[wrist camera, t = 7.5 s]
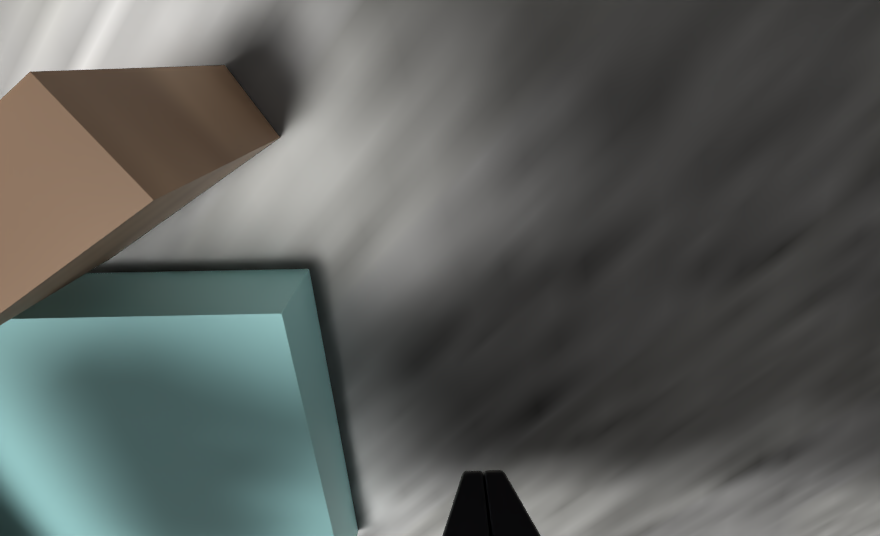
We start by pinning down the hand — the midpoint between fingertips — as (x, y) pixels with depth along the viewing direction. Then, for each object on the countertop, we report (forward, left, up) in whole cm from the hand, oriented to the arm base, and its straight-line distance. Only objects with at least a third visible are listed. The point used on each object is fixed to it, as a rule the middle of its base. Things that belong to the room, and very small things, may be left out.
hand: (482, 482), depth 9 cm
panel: (+1, +9, -2) cm, 9 cm away
